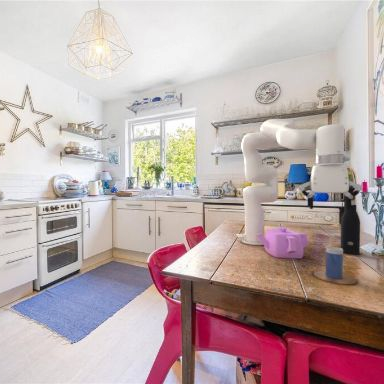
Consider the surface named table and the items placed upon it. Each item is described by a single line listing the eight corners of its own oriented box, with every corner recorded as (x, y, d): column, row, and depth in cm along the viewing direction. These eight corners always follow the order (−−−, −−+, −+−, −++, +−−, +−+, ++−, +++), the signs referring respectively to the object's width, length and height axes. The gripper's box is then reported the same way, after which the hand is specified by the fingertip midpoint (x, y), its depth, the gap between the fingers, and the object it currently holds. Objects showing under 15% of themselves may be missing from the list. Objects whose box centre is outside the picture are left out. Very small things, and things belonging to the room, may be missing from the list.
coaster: (315, 280, 79) (315, 279, 79) (311, 269, 89) (311, 268, 89) (360, 287, 73) (360, 286, 73) (351, 275, 83) (351, 274, 83)
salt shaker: (326, 277, 80) (326, 249, 80) (324, 273, 84) (324, 245, 84) (344, 280, 78) (345, 250, 77) (341, 275, 82) (341, 247, 81)
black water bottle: (351, 250, 111) (352, 187, 110) (363, 254, 105) (365, 187, 104) (336, 250, 112) (337, 187, 111) (347, 254, 106) (349, 188, 104)
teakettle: (295, 262, 97) (296, 232, 97) (254, 252, 111) (254, 227, 111) (311, 254, 107) (311, 227, 106) (271, 246, 121) (271, 223, 120)
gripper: (359, 160, 81) (358, 209, 82) (298, 162, 90) (297, 207, 91) (367, 158, 75) (365, 212, 75) (299, 161, 84) (299, 209, 85)
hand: (328, 209), depth 83 cm, fingers open, 9 cm apart
